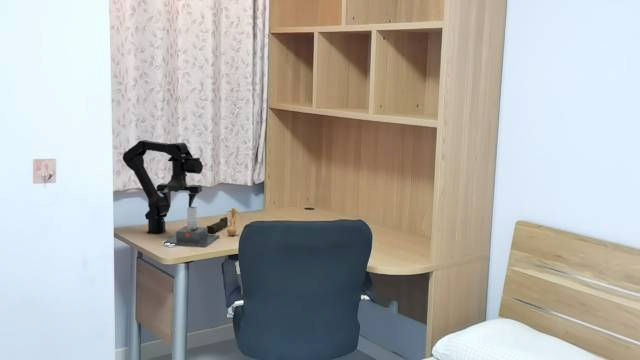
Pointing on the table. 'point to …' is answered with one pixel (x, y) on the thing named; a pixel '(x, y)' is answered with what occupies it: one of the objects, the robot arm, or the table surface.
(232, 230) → the figurine
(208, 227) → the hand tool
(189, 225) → the column
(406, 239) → the table surface
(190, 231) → the stand
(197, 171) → the robot arm
